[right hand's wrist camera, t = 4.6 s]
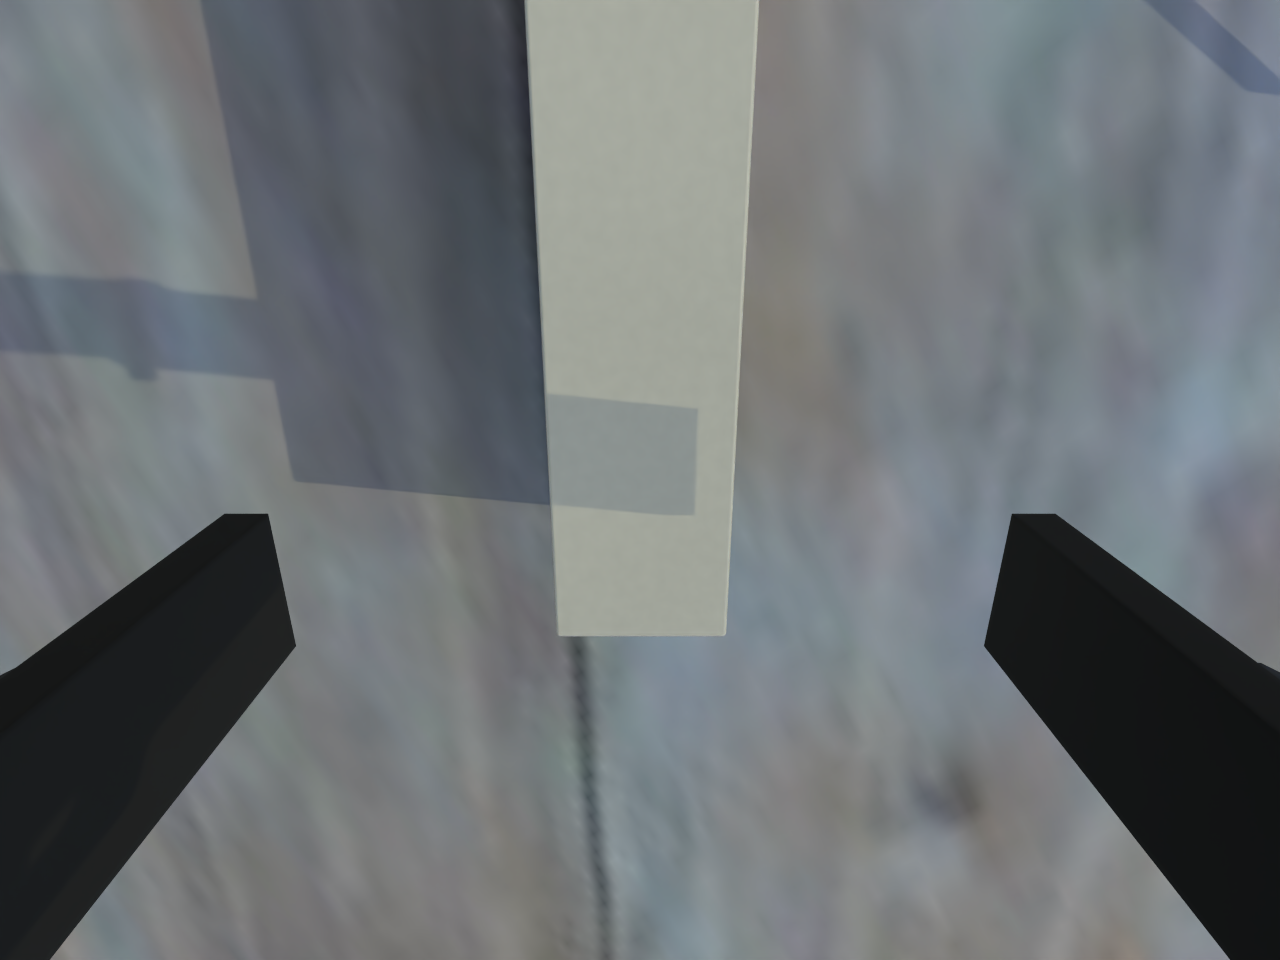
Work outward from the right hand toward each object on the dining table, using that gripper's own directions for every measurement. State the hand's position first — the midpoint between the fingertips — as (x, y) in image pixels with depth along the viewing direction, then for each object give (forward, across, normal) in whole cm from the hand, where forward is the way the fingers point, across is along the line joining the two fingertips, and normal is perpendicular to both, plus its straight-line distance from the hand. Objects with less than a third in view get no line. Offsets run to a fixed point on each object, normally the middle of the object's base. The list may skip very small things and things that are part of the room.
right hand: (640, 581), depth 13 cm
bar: (+13, 0, -25) cm, 28 cm away
